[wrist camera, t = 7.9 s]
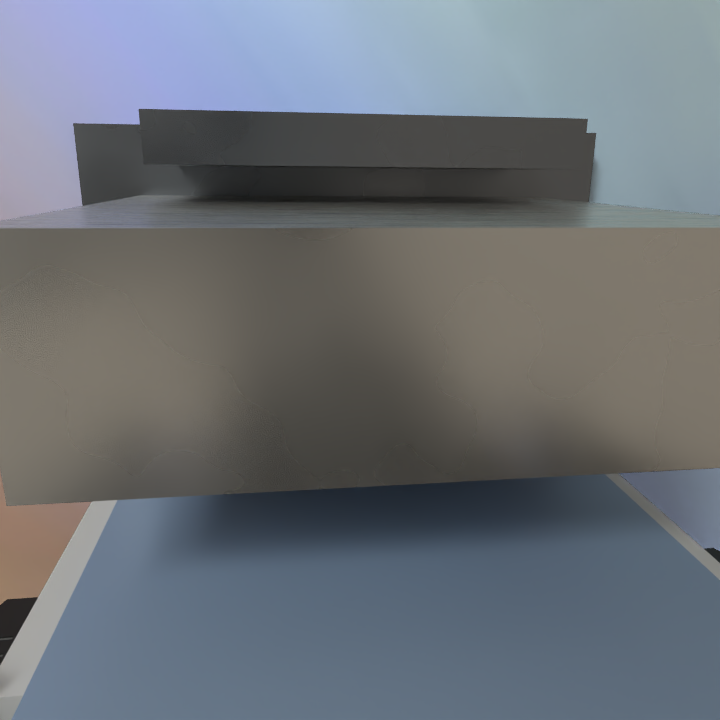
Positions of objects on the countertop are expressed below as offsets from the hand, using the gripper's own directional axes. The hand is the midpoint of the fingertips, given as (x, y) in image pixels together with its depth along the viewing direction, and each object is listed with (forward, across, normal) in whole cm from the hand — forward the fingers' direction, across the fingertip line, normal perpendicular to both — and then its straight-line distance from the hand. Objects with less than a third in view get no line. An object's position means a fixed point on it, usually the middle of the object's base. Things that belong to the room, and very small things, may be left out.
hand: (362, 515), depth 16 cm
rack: (+5, 0, 0) cm, 5 cm away
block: (+2, 0, 0) cm, 2 cm away
